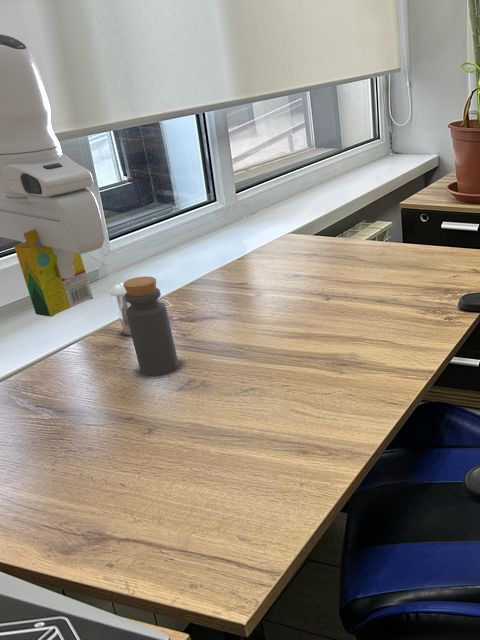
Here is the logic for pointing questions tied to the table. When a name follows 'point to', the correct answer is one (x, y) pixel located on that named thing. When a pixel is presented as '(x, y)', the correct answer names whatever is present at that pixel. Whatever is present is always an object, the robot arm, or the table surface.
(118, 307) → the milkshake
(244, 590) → the table surface
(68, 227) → the robot arm
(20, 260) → the crayon box
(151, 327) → the bottle
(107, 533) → the table surface
